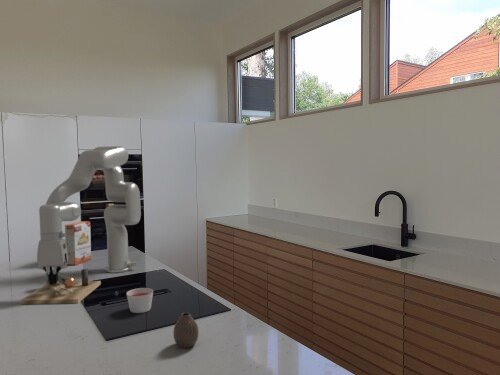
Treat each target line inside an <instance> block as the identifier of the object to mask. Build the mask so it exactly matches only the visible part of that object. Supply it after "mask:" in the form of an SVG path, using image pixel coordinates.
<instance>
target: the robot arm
mask: <svg viewBox="0 0 500 375" xmlns="http://www.w3.org/2000/svg"><path fill="white" fill-rule="evenodd" d="M128 159H129V150H127V148H126V147H124V146H122V145H117V146H116V145H115V146H107V145H106V146H98V147H97V146H96V147H95V148H93V149H89V150H84V151H83V152H81V153H80V155H79V157H78V158H77V160H76V163H75V165H74V167H73V168H72V171H71V173H70V175H69V176H68V178H67V179H65V180H64V181H63V182H61V183H60V184H59V185H58V186H57V187H56V188H55V189H53V190H52V192H51V193H50V194H49V196H48V198H47V200H46V202H45V204H43V205H40V206H39V209H38V210H39V211H38V213H39V233H40V234H39V236H40V238H39V239H40V240H39V241H38V245H37V250H36V252H37V254H36V258H37V259H36V260H37V261H36V263H37V265H38V266H37V268H38V269H39V270H42V271H45V273H46V275H47V274H48V281H49V284H50V285H51V284H52V285H54V284H56V283H57V281H58V272H60V271H61V270H64V269H66V268H68V265H67V262H68V252H67V246H66V242H65V236H66V234H65V232H64V233H63V222H72V221H73V222H74V221H76V220H77V219H79V218H80V216H81V214H82V209H81V206H80V205H79V204H78V203H75V202H71V201H69V202H68V201H66V200H67V199H68V198H70V197H71V196H72V195H74V194H76V193H79V192H81V191H84V190H86V189H87V188H89V187H90V186H91V183H92V181H93V178H94V176H95V173H96V172H97V170H102V171H103V174H104V186H105V196H106V199H107V201H109V202H111V203H114V202H115V203H125V204H110V205H108V206H107V207H105V209H104V212H103V217H104V218H103V219H104V223H105V229H106V244H107V245H106V246H107V266H106V267H104V271H105V272H107V273H112V274H113V273H114V274H115V273H124V272H129V271H130V270H132V269H133V267H137V266H138V261H132V260H131V258H129V240H128V239H129V238H128V236H129V235H128V230H127V227H126V226H134V225H137V224H139V222H140V221H141V216H142V211H141V209H142V208H141V206H142V205H141V192H140V188H139V186H138V185H137V184H136V183H135V182H130V181H127V182H126V181H125V179H124V178H125V177H124V171H123V169H122V167H121V166H123V165H125V164H126V163H127V162H128V161H129V160H128Z"/></svg>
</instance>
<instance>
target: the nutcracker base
mask: <svg viewBox="0 0 500 375" xmlns="http://www.w3.org/2000/svg"><path fill="white" fill-rule="evenodd" d="M88 271H89V270H88V268H83V269H81V280H80V281H79V280H78V281H75V280H74V287H71V288H65V285H63V284H61V283H60V282H58V281H57V283H56V284H54V285H52V284H51V285H50V284H49V281H48V279H47V278H46V284H45V285H43V286H42V287H40V288H38V289H36V290H35V291H33V292H32V293H30V294H28V295H26V296H25V297H23V298H22V299H20V302H19V303H20V305H45V304H46V305H47V304H48V305H49V304H50V305H52V304H54V305H57V304H58V305H59V304H79V303H80V302H81V301H82V300H84V299H85V298H86V297H88V296H89V295H90V294H91V293H92V292H93V291H95V290H96V289H97V288H98V287H99V286H101V284H102V282H101V280H92V281H91V280H89V272H88Z"/></svg>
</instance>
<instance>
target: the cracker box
mask: <svg viewBox="0 0 500 375" xmlns="http://www.w3.org/2000/svg"><path fill="white" fill-rule="evenodd" d="M64 233H65V234H66V236H65V237H64V239H65V242H66V246H67V252H68V262H67V266H77V265H79V264H81V263H84V262H88V261H89V260H92V251H91V250H92V241H91V238H92V236H91V221H89V220H88V221H86V220H85V221H84V220H83V221H82V220H81V221H77V222H73V223H68V224H65V225H64Z"/></svg>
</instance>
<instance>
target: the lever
mask: <svg viewBox="0 0 500 375" xmlns="http://www.w3.org/2000/svg"><path fill="white" fill-rule="evenodd" d="M46 275H47V276H46V279H48V274H47V273H46ZM74 281H75V277H73V276H72V277H71V276H69V275H66V274H64V273H62V272H60V271H59V272H58V282H60V283H61V284H63V285H65V288H71V287H74Z"/></svg>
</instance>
